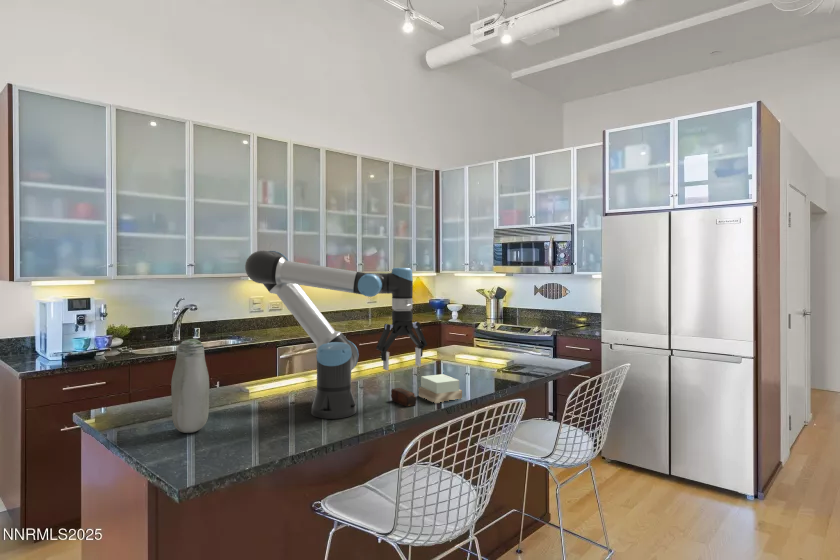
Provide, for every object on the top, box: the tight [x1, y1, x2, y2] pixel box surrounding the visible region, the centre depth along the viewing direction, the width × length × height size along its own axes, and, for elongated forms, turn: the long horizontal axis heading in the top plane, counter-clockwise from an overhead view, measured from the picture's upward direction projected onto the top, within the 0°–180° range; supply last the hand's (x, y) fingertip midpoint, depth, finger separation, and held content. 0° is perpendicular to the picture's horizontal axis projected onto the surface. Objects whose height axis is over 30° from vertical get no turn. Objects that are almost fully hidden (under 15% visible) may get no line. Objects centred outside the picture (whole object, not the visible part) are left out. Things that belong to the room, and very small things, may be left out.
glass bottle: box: [170, 338, 210, 434], centre depth 157 cm, size 10×10×28 cm
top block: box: [420, 373, 460, 394], centre depth 200 cm, size 10×12×4 cm
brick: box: [390, 387, 417, 407], centre depth 192 cm, size 11×4×5 cm, turn 38°
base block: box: [418, 386, 463, 404], centre depth 200 cm, size 12×12×4 cm
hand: (402, 367), depth 191 cm, fingers open, 13 cm apart
